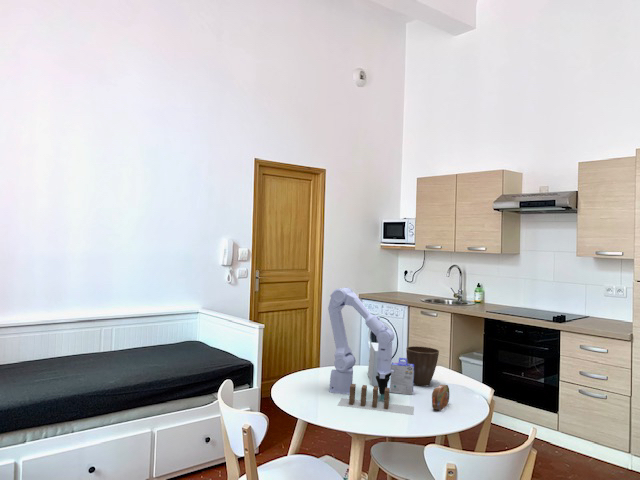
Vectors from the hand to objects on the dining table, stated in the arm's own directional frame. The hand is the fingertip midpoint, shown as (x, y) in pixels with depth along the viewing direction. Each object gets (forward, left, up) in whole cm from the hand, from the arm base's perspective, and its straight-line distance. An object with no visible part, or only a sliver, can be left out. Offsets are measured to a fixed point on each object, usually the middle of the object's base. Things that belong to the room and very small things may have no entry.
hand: (382, 391), depth 202 cm
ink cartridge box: (+7, +13, -3) cm, 15 cm away
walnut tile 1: (-11, -11, -3) cm, 16 cm away
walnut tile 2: (-6, -11, -3) cm, 13 cm away
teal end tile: (0, 0, -3) cm, 3 cm away
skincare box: (-6, +28, -3) cm, 29 cm away
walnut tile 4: (+2, -11, -3) cm, 12 cm away
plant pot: (+15, +30, -3) cm, 34 cm away
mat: (-2, -11, -3) cm, 11 cm away
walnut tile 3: (-2, -11, -3) cm, 11 cm away
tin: (+23, -2, -3) cm, 23 cm away
